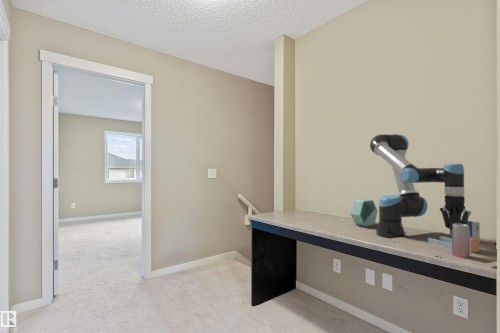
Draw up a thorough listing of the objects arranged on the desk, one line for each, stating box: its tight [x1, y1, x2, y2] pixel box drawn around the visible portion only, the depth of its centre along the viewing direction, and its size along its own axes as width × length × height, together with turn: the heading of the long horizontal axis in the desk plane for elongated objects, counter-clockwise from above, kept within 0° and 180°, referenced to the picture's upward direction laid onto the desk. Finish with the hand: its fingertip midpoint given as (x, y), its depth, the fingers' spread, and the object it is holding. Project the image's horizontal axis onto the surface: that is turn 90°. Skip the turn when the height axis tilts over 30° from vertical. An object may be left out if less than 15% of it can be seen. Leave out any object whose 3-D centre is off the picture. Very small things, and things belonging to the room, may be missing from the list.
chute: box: [427, 235, 452, 250], centre depth 125 cm, size 16×11×4 cm
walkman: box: [467, 220, 481, 244], centre depth 132 cm, size 8×3×12 cm, turn 25°
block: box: [470, 236, 480, 254], centre depth 118 cm, size 6×6×6 cm
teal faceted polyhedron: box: [350, 198, 379, 227], centre depth 177 cm, size 17×8×21 cm
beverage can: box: [451, 223, 471, 259], centre depth 111 cm, size 6×6×15 cm
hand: (455, 243), depth 123 cm, fingers closed
